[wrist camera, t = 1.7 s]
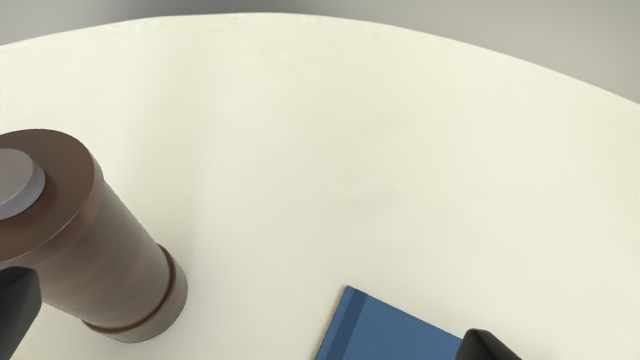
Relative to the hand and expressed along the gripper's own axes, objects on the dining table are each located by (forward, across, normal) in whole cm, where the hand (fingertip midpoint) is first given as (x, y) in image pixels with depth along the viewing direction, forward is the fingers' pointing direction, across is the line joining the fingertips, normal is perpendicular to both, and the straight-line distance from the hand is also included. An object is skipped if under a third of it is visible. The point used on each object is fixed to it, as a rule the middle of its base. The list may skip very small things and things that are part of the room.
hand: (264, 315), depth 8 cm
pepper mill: (+11, +7, +11) cm, 17 cm away
